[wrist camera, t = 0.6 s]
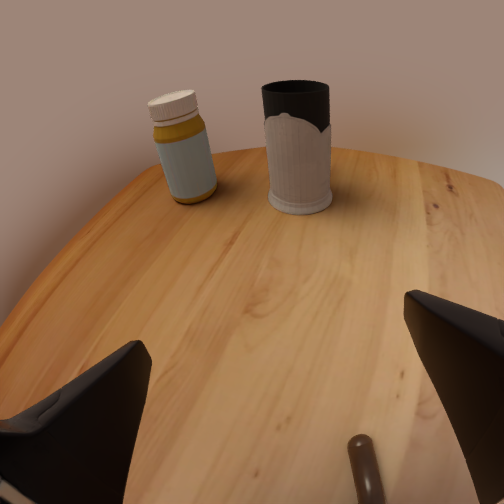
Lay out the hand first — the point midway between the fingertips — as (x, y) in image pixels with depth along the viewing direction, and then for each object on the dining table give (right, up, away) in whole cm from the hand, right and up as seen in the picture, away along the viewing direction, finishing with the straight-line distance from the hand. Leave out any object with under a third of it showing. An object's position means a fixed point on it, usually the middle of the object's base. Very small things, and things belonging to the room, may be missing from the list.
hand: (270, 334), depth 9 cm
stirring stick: (+7, -14, +4) cm, 17 cm away
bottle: (-9, +11, +33) cm, 36 cm away
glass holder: (+7, +12, +31) cm, 34 cm away
